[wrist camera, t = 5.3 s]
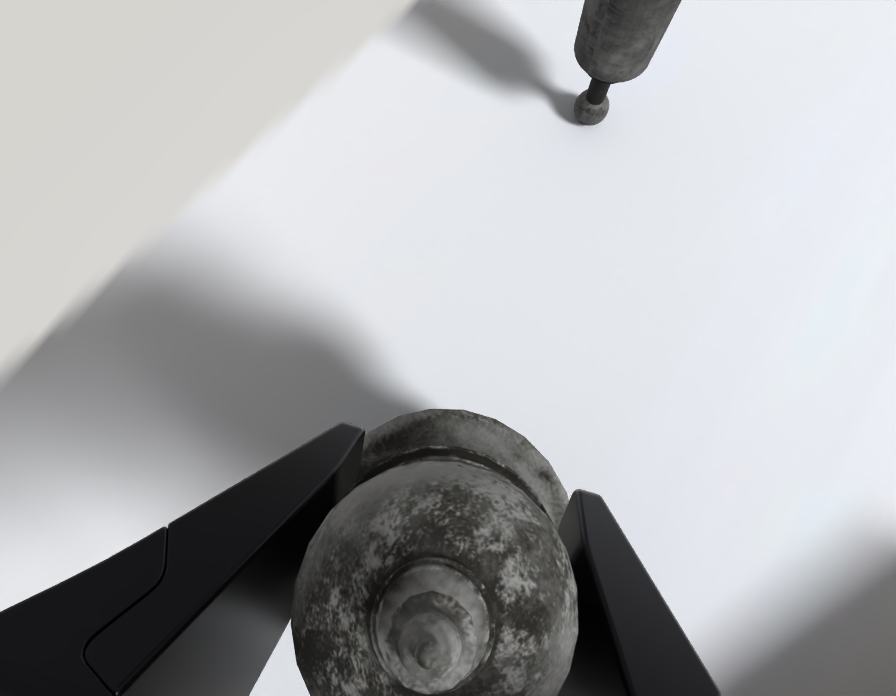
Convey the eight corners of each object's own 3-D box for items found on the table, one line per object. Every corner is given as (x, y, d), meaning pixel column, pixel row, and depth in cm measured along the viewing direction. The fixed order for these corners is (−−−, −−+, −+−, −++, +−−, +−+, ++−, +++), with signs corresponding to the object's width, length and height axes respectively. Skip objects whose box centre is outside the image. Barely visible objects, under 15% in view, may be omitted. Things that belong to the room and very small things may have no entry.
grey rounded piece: (564, 633, 15) (1021, 1198, 3) (346, 657, 14) (-85, 1352, 3) (533, 416, 16) (751, 220, 4) (335, 436, 16) (25, 290, 4)
